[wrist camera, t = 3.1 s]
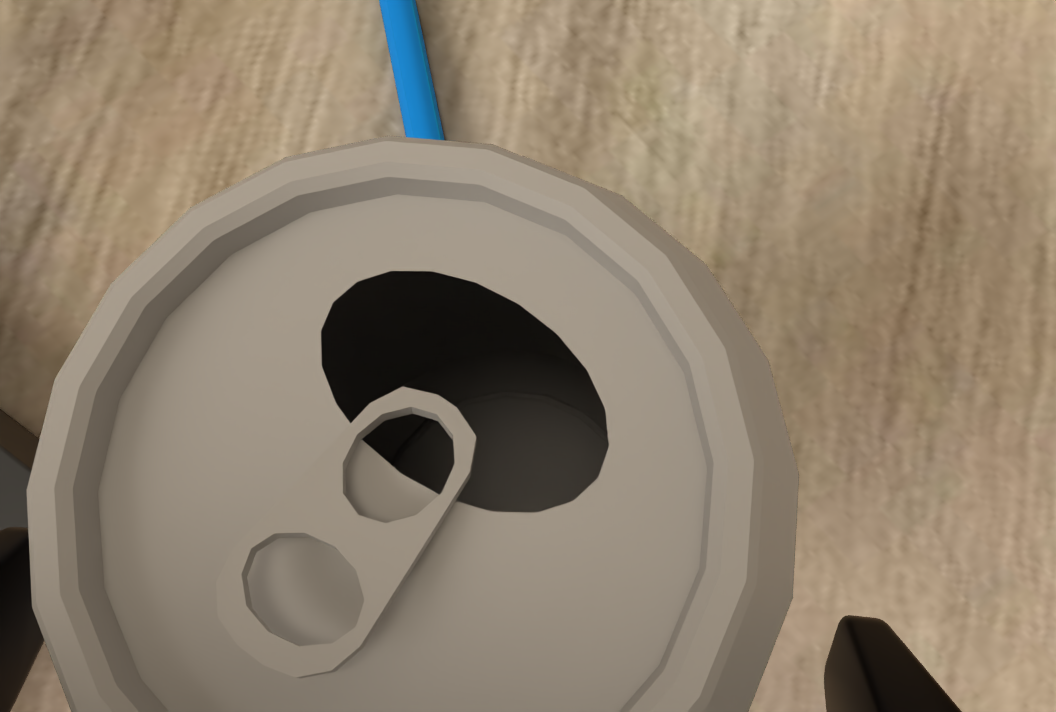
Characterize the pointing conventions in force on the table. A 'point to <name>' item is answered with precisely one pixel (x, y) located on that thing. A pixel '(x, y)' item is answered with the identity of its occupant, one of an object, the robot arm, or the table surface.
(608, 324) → the can
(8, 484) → the scale
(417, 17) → the pen
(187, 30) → the table surface
